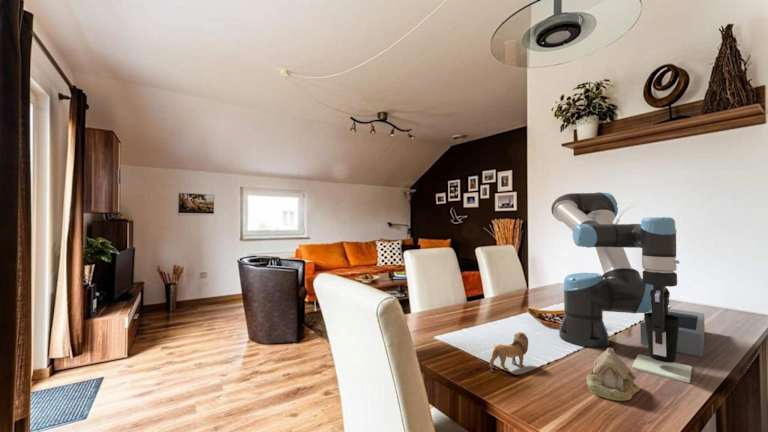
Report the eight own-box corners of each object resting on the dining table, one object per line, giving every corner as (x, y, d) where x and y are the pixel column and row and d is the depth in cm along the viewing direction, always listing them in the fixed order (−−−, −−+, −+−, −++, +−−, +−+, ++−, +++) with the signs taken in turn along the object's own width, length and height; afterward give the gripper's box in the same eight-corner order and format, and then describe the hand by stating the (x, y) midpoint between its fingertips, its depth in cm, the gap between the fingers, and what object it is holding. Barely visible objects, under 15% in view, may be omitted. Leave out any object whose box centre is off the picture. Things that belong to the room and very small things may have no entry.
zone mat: (631, 368, 91) (631, 366, 91) (638, 356, 99) (638, 354, 99) (689, 383, 82) (689, 381, 82) (691, 368, 90) (691, 366, 90)
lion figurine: (518, 358, 98) (517, 328, 99) (533, 364, 94) (533, 334, 94) (484, 368, 91) (483, 337, 92) (498, 376, 87) (498, 343, 87)
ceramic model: (588, 371, 89) (588, 335, 90) (639, 384, 82) (638, 345, 83) (582, 392, 78) (581, 352, 79) (640, 409, 71) (639, 364, 72)
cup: (638, 353, 94) (637, 312, 94) (661, 352, 95) (660, 312, 95) (662, 365, 86) (661, 320, 87) (688, 363, 87) (687, 319, 87)
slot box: (640, 343, 109) (640, 323, 109) (653, 323, 131) (652, 306, 131) (702, 357, 98) (702, 334, 98) (704, 331, 120) (704, 313, 120)
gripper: (673, 276, 81) (676, 366, 81) (679, 268, 96) (681, 344, 95) (636, 273, 87) (638, 357, 86) (647, 266, 101) (649, 338, 100)
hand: (661, 350), depth 91 cm, fingers closed on cup, 8 cm apart
